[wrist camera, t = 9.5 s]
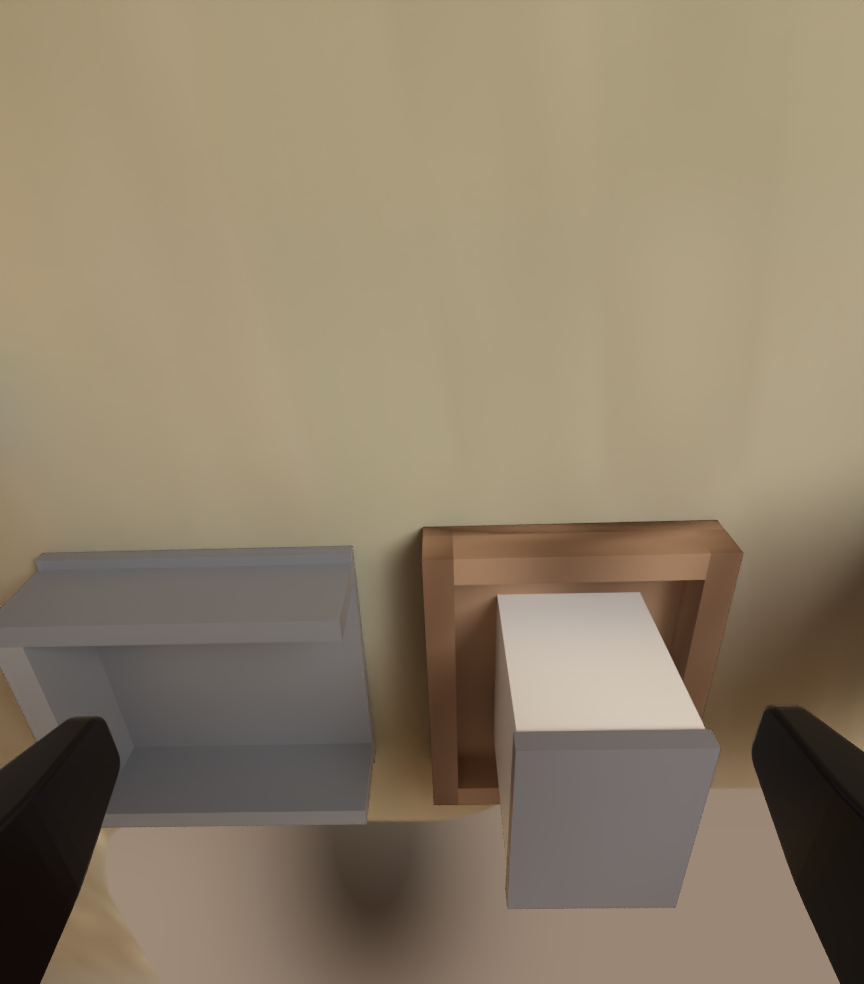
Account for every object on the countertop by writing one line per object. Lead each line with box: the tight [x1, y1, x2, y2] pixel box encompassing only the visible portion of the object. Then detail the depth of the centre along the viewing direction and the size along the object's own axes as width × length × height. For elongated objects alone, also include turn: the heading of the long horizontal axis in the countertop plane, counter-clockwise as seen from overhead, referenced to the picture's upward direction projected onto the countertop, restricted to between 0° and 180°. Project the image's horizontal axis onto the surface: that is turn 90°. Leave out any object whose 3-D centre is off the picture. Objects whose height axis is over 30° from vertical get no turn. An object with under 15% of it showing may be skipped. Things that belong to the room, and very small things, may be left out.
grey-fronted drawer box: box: [493, 592, 721, 909], centre depth 20 cm, size 5×7×7 cm
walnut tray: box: [422, 520, 743, 805], centre depth 23 cm, size 10×12×2 cm
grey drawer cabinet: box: [0, 546, 376, 828], centre depth 22 cm, size 11×11×4 cm
